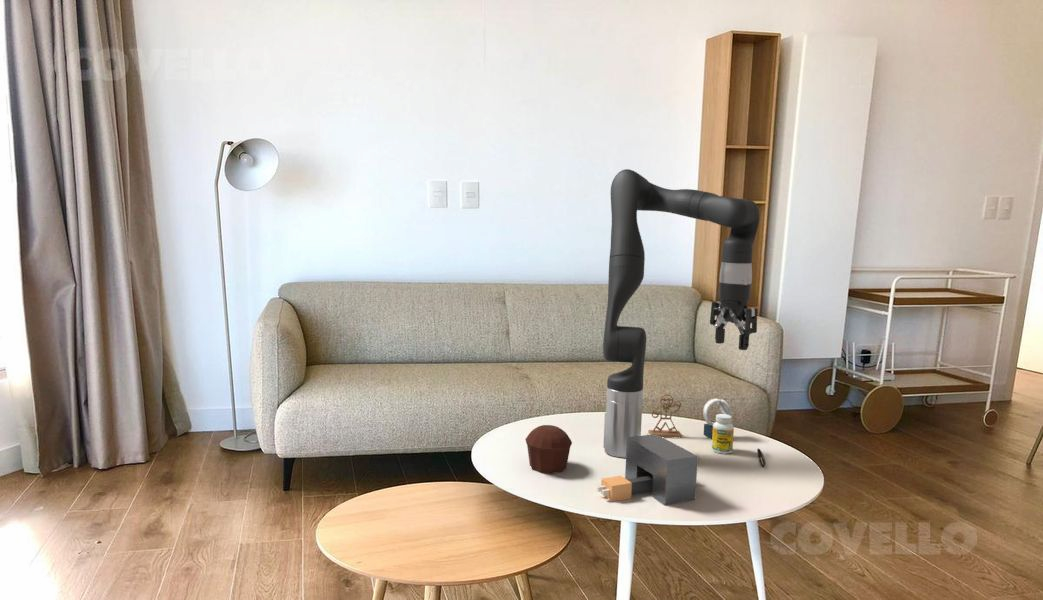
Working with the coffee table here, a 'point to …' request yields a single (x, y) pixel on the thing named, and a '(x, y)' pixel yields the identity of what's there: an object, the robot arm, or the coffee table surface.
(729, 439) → the supplement bottle
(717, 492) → the coffee table surface
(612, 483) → the plug
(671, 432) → the gingerbread man figurine
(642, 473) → the bridge-shaped block
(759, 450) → the fountain pen
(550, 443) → the muffin
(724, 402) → the watch
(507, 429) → the coffee table surface
